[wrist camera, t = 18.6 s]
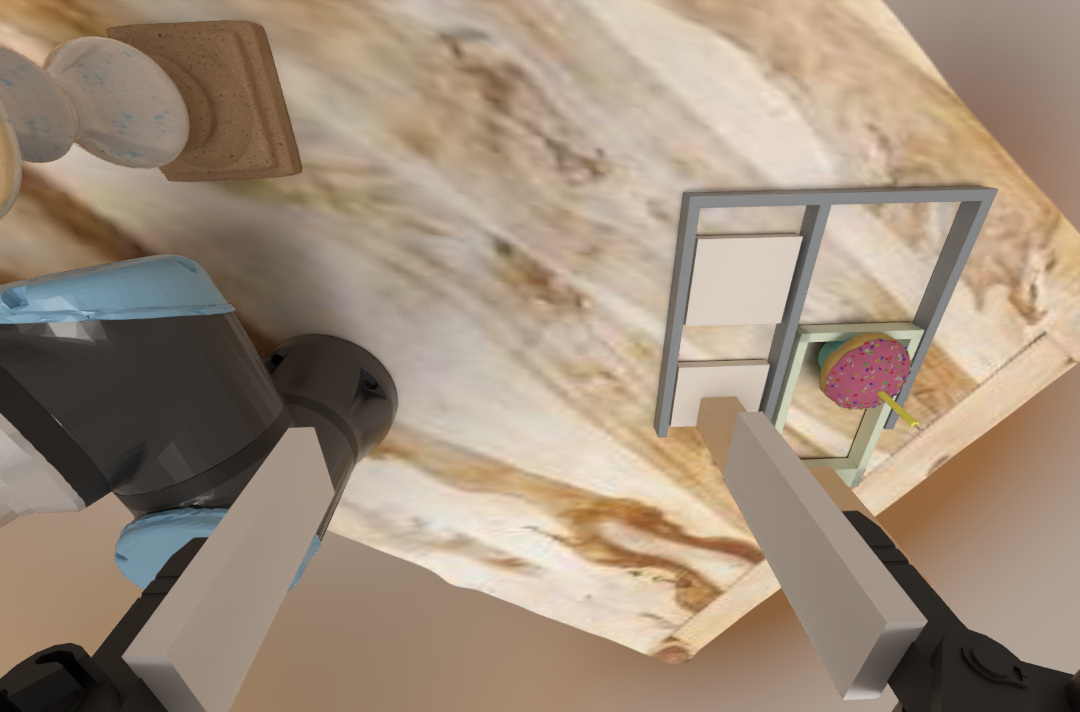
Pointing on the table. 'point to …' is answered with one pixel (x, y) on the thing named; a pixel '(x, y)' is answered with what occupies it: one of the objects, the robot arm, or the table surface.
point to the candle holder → (150, 104)
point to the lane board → (812, 230)
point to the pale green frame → (850, 470)
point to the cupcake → (865, 372)
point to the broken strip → (730, 299)
